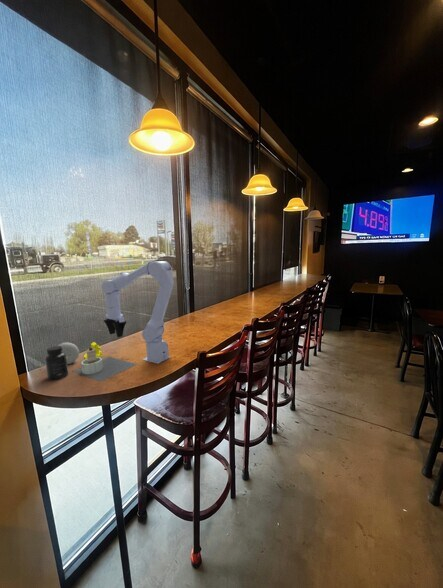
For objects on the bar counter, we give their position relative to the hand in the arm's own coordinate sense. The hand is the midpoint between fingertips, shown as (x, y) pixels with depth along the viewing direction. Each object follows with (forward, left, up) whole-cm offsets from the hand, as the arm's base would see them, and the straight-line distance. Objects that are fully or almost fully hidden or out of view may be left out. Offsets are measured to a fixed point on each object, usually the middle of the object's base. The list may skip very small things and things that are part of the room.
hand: (116, 335), depth 115 cm
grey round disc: (+13, +16, -11) cm, 23 cm away
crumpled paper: (+9, +7, -11) cm, 15 cm away
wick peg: (-4, +15, -9) cm, 18 cm away
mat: (-7, +11, -10) cm, 17 cm away
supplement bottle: (+3, +25, -11) cm, 27 cm away
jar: (-4, +15, -10) cm, 18 cm away
